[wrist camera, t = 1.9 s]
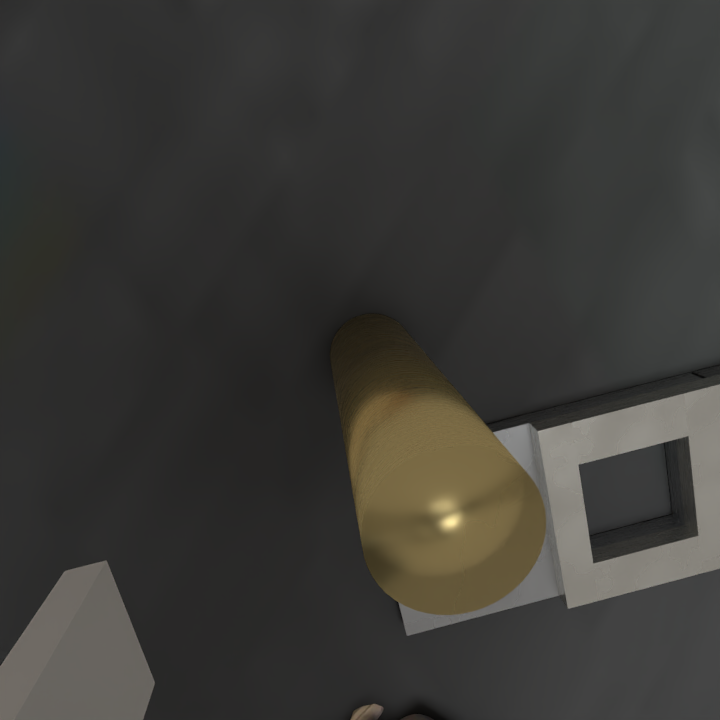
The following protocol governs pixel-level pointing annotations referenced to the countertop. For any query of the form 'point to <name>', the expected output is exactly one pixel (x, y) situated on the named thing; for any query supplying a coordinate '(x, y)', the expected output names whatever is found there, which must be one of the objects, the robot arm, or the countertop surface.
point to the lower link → (543, 574)
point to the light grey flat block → (616, 436)
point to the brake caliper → (369, 714)
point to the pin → (429, 477)
